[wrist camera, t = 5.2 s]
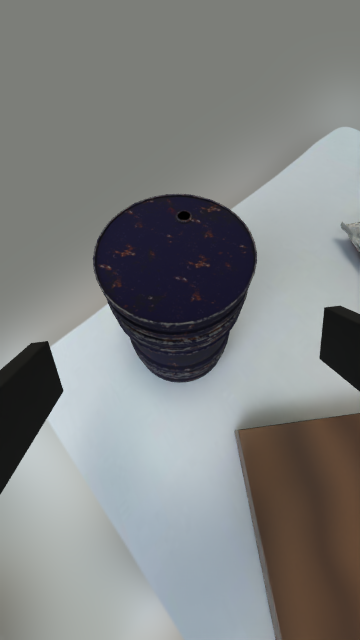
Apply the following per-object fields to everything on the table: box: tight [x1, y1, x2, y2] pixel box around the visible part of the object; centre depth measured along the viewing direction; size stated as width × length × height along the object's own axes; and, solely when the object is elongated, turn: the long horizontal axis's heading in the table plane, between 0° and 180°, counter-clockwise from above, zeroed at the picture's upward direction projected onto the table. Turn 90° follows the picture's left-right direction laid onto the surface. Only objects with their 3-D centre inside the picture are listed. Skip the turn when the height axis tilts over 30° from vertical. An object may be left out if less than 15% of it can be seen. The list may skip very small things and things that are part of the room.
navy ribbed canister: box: [93, 194, 257, 382], centre depth 22 cm, size 10×10×15 cm
